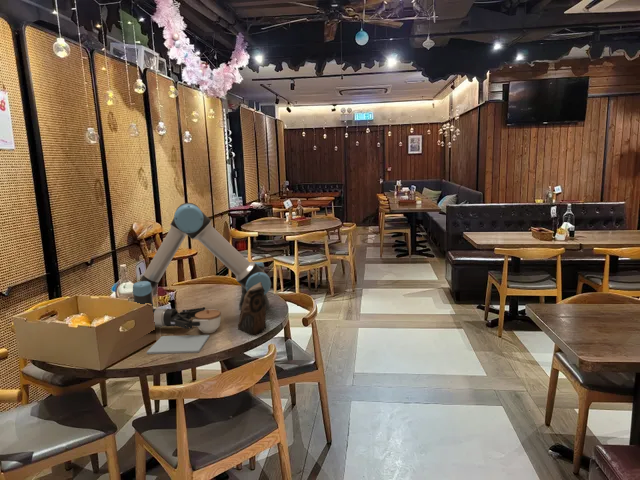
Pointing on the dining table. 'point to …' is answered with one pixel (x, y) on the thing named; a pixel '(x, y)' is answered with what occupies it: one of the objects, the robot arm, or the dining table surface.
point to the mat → (179, 344)
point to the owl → (253, 311)
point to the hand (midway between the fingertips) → (213, 317)
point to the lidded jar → (209, 320)
